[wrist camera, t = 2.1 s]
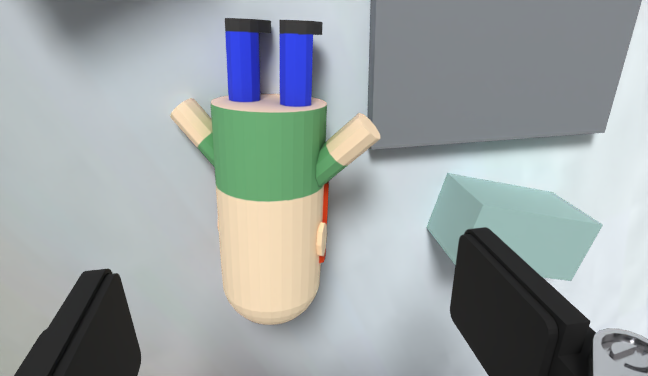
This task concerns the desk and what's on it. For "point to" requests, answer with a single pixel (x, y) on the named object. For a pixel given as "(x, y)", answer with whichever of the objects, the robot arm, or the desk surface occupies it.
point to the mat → (494, 68)
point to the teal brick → (515, 223)
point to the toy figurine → (272, 171)
